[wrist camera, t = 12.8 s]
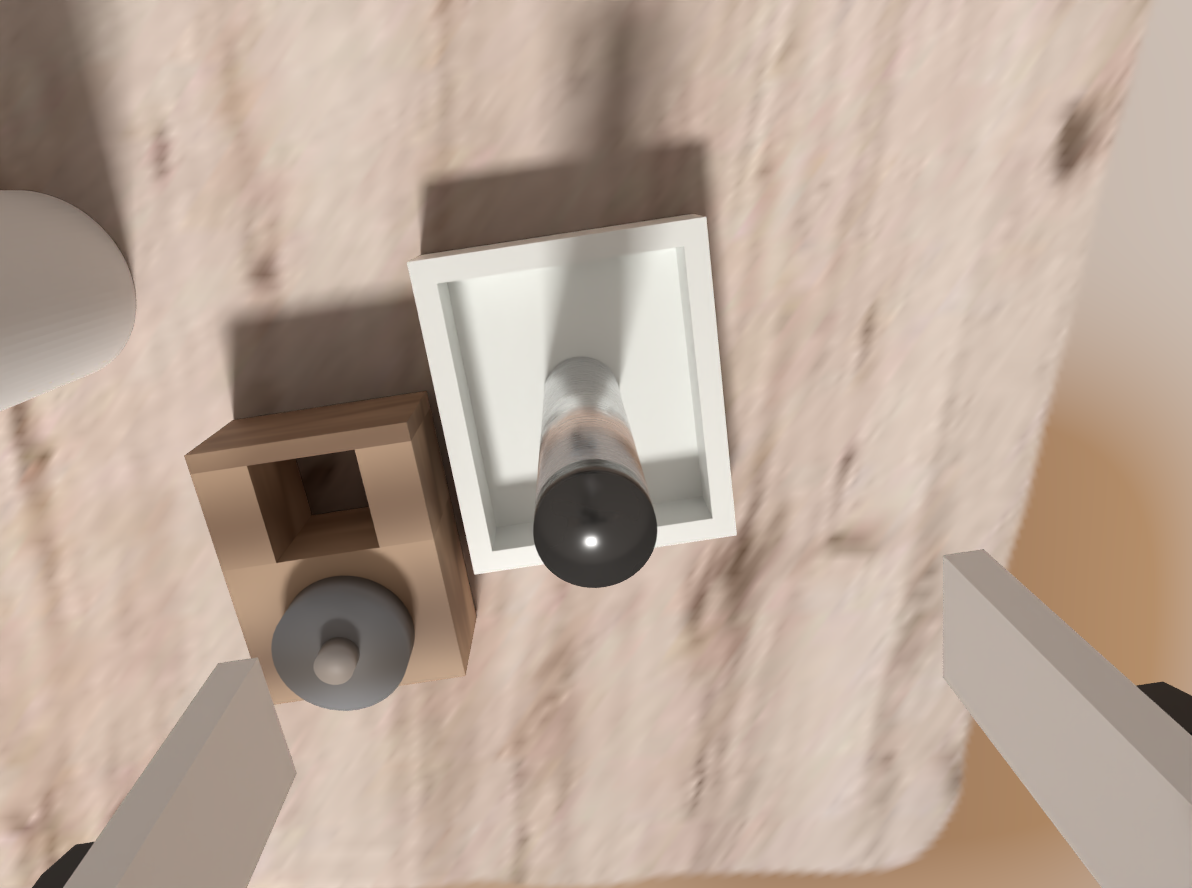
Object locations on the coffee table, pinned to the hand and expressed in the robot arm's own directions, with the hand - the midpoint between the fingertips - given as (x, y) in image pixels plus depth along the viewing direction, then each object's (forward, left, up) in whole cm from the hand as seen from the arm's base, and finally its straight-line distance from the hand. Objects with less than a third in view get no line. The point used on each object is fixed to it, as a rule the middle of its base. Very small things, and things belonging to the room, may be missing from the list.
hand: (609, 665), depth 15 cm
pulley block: (+5, -12, -23) cm, 26 cm away
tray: (0, 0, -23) cm, 23 cm away
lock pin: (0, 0, -22) cm, 22 cm away
